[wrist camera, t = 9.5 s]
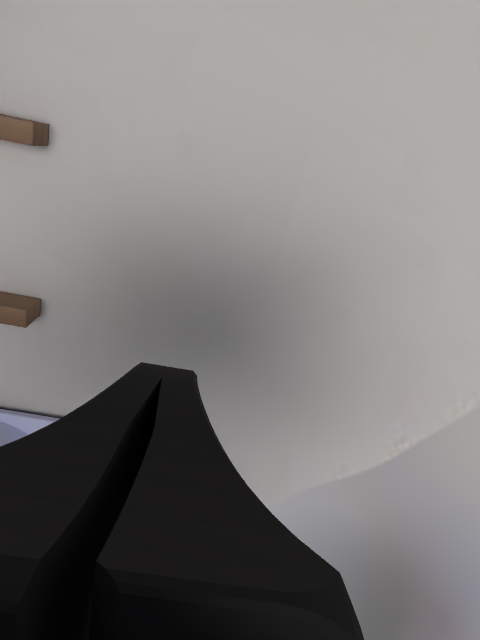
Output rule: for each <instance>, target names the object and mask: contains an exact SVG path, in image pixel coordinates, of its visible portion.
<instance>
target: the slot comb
mask: <svg viewBox="0 0 480 640" xmlns="http://www.w3.org/2000/svg"><path fill="white" fill-rule="evenodd" d="M48 135H49V124H45V123H40V122H36V121H31V120H26V119H21V118H17V117H12V116H7V115H2V114H0V139H2V140H7V141H12V142H16V143H21V144H26V145H31V146H48ZM40 303H41V299H38V298H32V297H27V296H21V295H16V294H10V293H5V292H0V323H2V324H8V325H14V326H19V327H25V328H26V327H27V326H28V325H29V324H31V323H32V322H33V321H34V320H35V319H36V318H37V317H39V316H40Z"/></svg>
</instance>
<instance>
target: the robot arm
mask: <svg viewBox="0 0 480 640" xmlns="http://www.w3.org/2000/svg"><path fill="white" fill-rule="evenodd" d="M0 640H364V638H363V634H362V631H361V627H360V625H359V622H358V619H357V616H356V614H355V611H354V608H353V605H352V603H351V600H350V598H349V595H348V592H347V590H346V587H345V584H344V582H343V579H342V577H341V575H340V573H339V572H338V571H337V570H336V569H335V568H333V567H332V566H331V565H330V564H329V563H327V562H326V561H325V560H324V559H322V558H321V557H320V556H319V555H317V554H316V553H315V552H314V551H313V550H311V549H310V548H309V547H308V546H306V545H305V544H304V543H303V542H301V541H300V540H299V539H298V538H297V537H296V536H295V535H293V534H292V533H291V532H290V531H289V530H288V529H287V528H286V527H285V526H284V525H283V524H282V523H281V522H280V521H279V520H278V519H277V518H276V517H275V516H274V515H272V513H271V512H270V511H269V510H268V509H267V508H266V507H265V505H264V504H263V503H262V502H261V501H260V500H259V499H258V497H257V496H256V495H255V494H254V493H253V492H252V490H251V489H250V488H249V487H248V486H247V484H246V483H245V481H244V480H243V479H242V477H241V476H240V475H239V473H238V472H237V470H236V469H235V467H234V466H233V464H232V463H231V461H230V459H229V458H228V456H227V454H226V453H225V451H224V449H223V447H222V446H221V444H220V442H219V440H218V438H217V436H216V434H215V432H214V430H213V428H212V425H211V423H210V421H209V418H208V416H207V413H206V411H205V408H204V406H203V403H202V400H201V396H200V393H199V389H198V384H197V375H196V374H195V373H194V371H191V370H185V369H178V368H172V367H166V366H160V365H154V364H148V363H142V362H141V363H140V364H138V365H137V366H135V367H134V368H133V369H131V370H130V371H129V372H128V373H126V374H125V375H124V376H123V377H121V378H120V379H119V380H117V381H116V382H115V383H114V384H112V385H111V386H110V387H108V388H107V389H105V390H104V391H102V392H101V393H100V394H98V395H97V396H95V397H94V398H93V399H91V400H90V401H88V402H87V403H85V404H84V405H82V406H80V407H79V408H77V409H76V410H74V411H72V412H71V413H69V414H68V415H66V416H64V417H62V418H61V419H59V418H53V417H47V416H41V415H35V414H29V413H23V412H16V411H10V410H4V409H0Z"/></svg>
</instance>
